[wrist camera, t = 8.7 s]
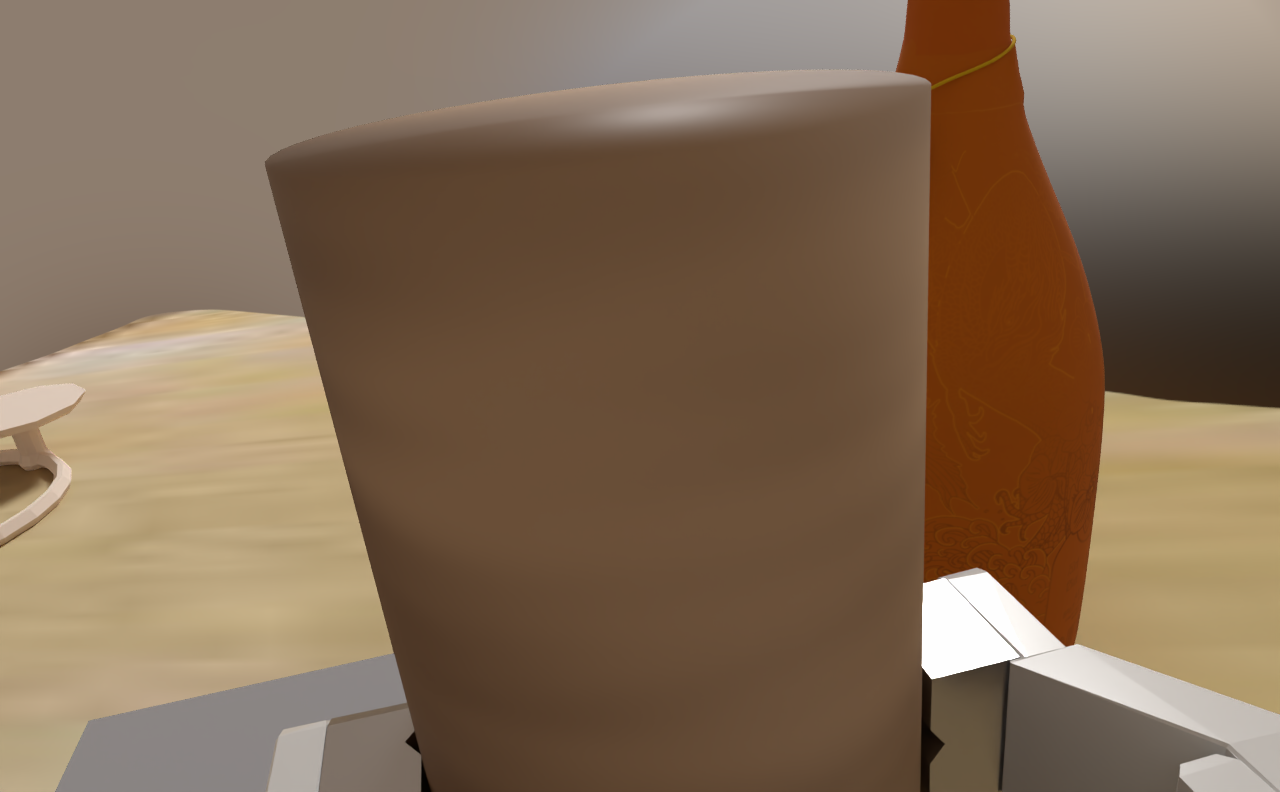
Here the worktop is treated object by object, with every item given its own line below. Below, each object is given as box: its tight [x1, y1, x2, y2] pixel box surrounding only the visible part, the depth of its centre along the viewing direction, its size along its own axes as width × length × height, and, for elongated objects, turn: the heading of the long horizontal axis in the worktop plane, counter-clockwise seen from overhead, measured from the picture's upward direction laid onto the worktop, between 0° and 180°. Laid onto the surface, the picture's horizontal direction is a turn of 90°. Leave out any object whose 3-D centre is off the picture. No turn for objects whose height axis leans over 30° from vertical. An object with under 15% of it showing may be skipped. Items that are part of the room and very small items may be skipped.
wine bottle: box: [896, 0, 1105, 647], centre depth 30 cm, size 10×10×30 cm
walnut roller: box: [265, 69, 931, 792], centre depth 10 cm, size 5×5×14 cm
